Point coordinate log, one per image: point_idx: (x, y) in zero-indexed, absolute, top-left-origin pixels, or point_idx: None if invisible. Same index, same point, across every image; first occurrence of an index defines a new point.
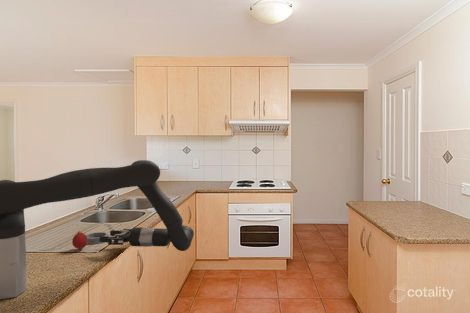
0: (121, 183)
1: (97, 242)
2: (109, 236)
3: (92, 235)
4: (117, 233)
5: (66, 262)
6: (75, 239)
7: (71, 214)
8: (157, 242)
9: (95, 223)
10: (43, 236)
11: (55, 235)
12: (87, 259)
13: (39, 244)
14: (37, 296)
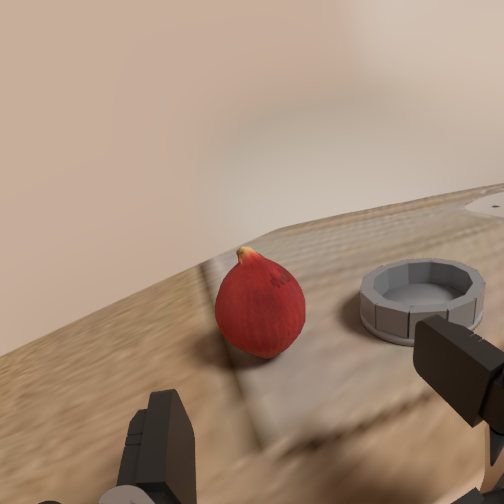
0: None
1: (396, 335)
2: (164, 481)
3: (421, 272)
4: (471, 393)
5: (81, 410)
6: (217, 296)
7: (463, 190)
8: None
9: (491, 217)
10: (335, 234)
11: (359, 236)
12: (109, 476)
13: (276, 260)
14: None
